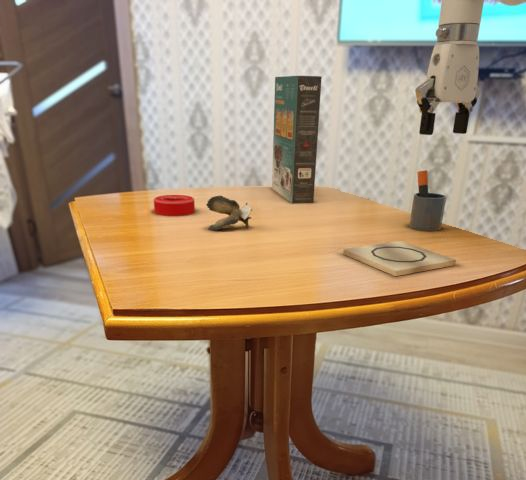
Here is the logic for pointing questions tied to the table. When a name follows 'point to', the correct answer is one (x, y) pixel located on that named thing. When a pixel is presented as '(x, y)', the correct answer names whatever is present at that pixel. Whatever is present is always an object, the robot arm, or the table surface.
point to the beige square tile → (399, 258)
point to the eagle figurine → (228, 212)
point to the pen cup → (427, 212)
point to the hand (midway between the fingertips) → (442, 133)
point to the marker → (423, 183)
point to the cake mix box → (295, 136)
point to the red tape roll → (174, 205)
